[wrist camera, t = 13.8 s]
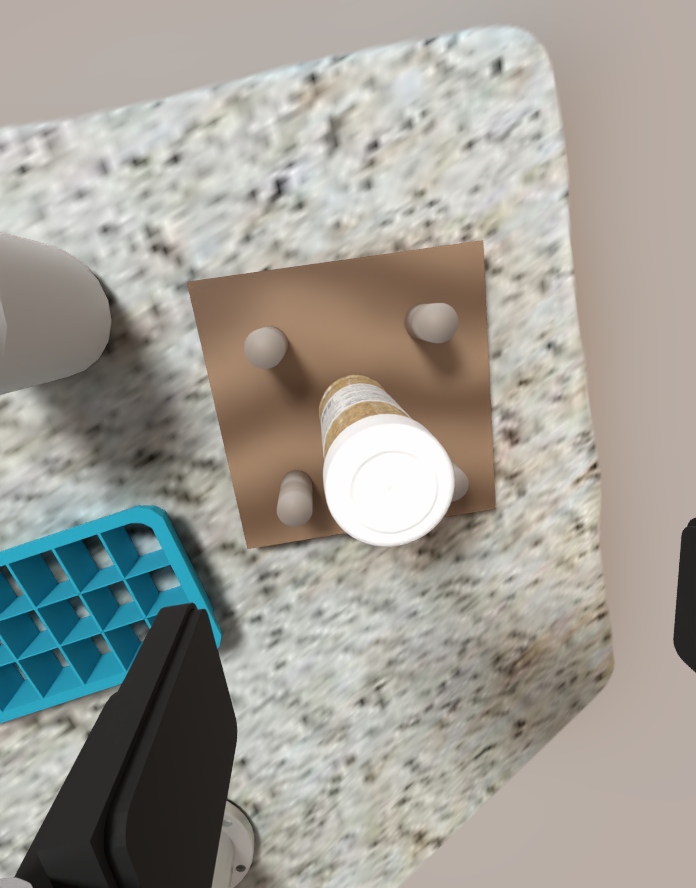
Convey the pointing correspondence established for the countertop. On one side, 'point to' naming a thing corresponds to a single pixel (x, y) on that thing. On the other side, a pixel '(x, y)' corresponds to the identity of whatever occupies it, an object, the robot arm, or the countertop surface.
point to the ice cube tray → (89, 671)
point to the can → (47, 314)
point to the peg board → (344, 372)
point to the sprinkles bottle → (380, 465)
